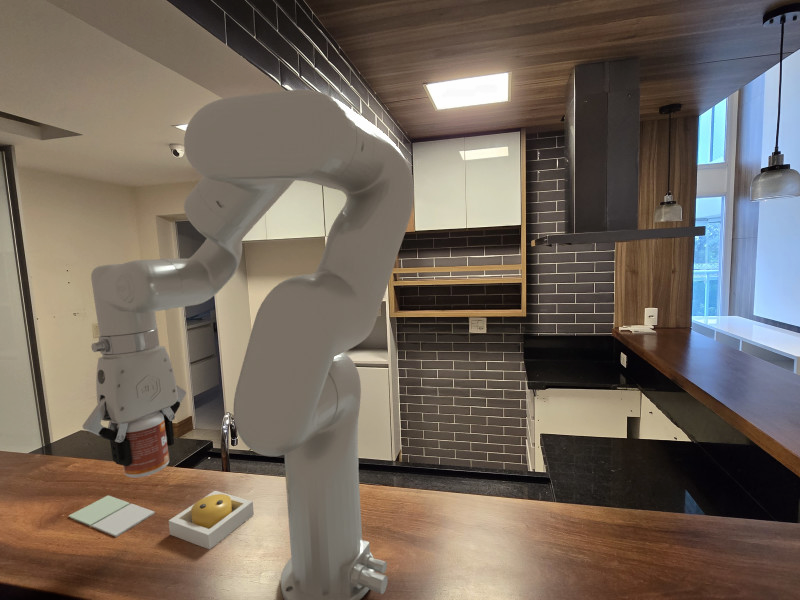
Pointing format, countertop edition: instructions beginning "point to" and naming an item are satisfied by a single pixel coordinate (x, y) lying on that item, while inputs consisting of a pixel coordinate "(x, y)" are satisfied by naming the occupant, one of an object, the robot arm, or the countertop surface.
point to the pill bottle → (147, 445)
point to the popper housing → (210, 537)
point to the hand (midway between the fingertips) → (145, 452)
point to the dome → (211, 510)
